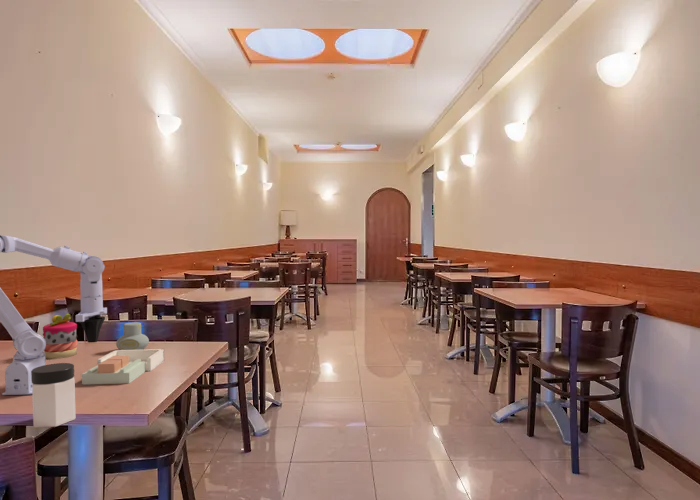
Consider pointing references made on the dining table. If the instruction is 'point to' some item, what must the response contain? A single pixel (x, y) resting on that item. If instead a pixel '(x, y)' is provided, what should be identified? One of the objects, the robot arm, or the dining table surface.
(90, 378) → the two-ridged green plate
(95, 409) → the dining table surface
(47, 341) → the cake
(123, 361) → the tile
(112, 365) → the tile
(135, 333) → the air freshener
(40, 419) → the jar
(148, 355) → the box
